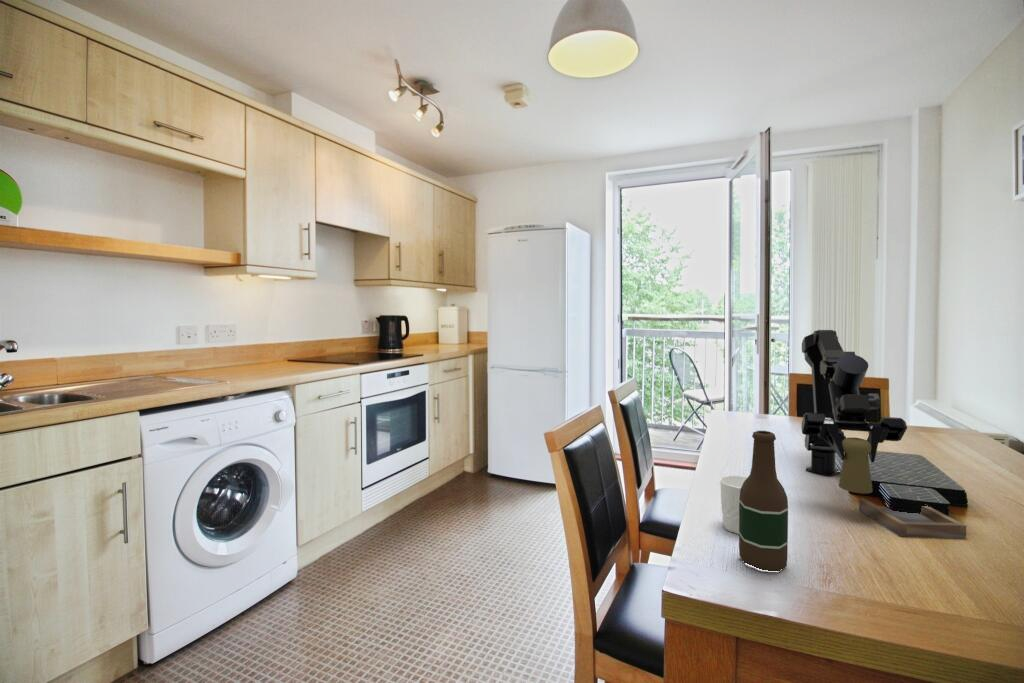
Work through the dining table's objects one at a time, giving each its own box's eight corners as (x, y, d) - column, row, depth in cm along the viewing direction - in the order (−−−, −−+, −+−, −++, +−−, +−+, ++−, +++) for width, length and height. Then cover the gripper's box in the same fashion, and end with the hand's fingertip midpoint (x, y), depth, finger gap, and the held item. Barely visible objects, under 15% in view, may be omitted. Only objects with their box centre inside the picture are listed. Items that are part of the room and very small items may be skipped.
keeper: (859, 509, 107) (859, 498, 107) (916, 511, 106) (916, 499, 106) (900, 536, 94) (900, 524, 94) (965, 538, 93) (966, 525, 93)
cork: (879, 493, 99) (881, 442, 99) (849, 493, 100) (851, 442, 99) (860, 483, 106) (861, 434, 105) (832, 483, 106) (833, 435, 105)
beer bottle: (786, 579, 80) (788, 440, 79) (736, 566, 84) (737, 434, 83) (787, 558, 87) (789, 430, 85) (741, 548, 91) (742, 425, 89)
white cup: (758, 522, 102) (758, 477, 101) (764, 539, 94) (765, 490, 94) (718, 518, 104) (718, 473, 104) (721, 533, 97) (722, 486, 96)
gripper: (804, 378, 109) (812, 437, 99) (905, 381, 101) (924, 445, 92) (798, 405, 116) (805, 462, 107) (891, 410, 109) (908, 472, 99)
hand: (857, 460), depth 101 cm, fingers closed on cork, 5 cm apart
